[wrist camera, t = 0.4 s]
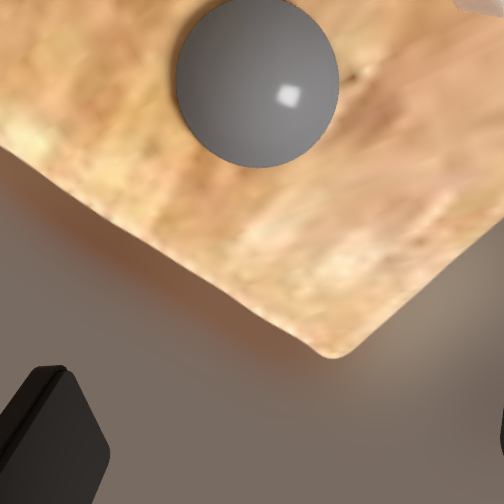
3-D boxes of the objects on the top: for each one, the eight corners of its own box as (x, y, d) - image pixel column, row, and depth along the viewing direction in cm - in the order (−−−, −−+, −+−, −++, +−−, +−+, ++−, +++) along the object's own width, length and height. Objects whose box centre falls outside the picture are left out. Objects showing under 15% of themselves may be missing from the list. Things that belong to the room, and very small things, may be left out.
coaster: (181, -15, 31) (178, -15, 31) (355, 8, 31) (356, 8, 30) (176, 153, 38) (173, 156, 37) (321, 174, 37) (321, 178, 36)
